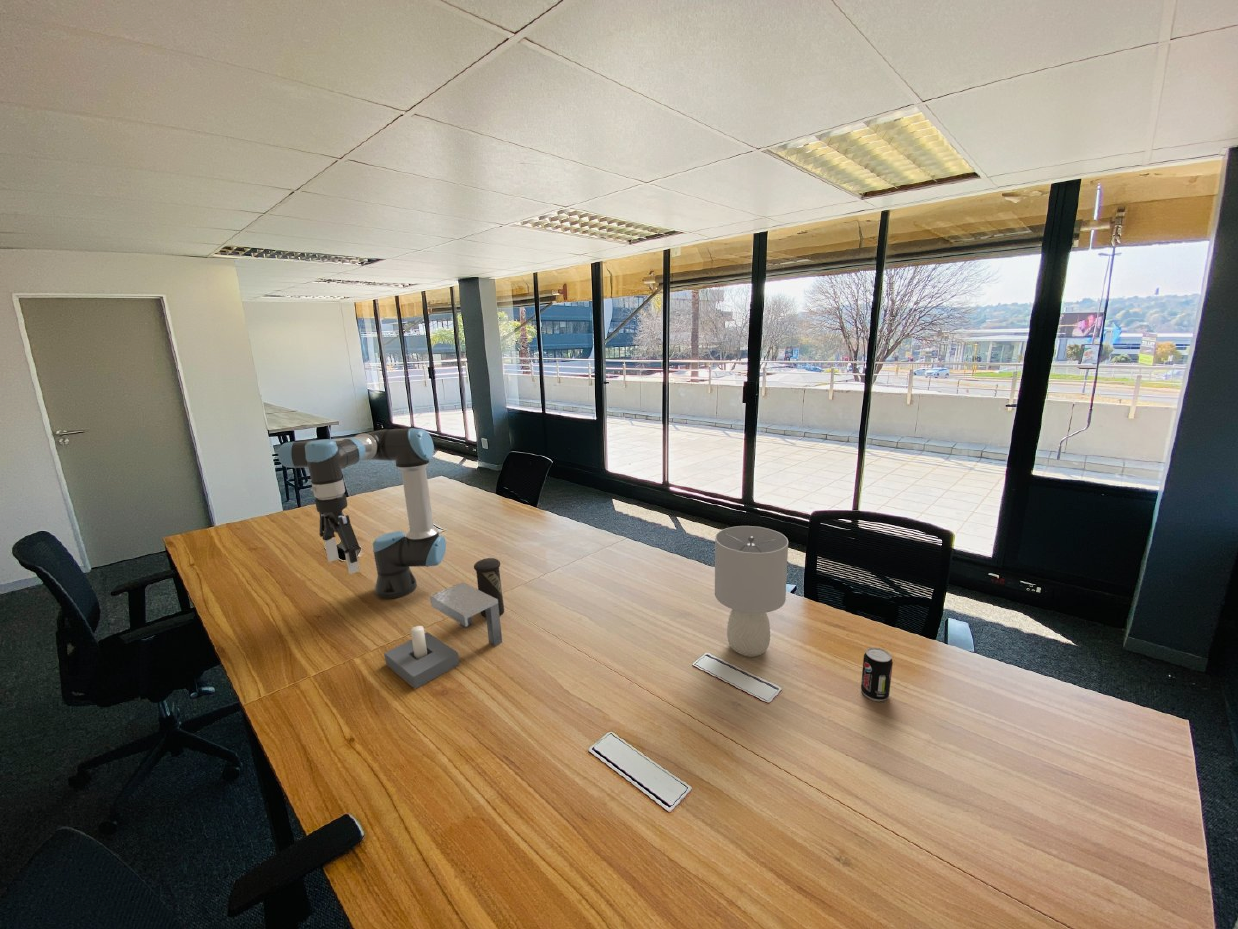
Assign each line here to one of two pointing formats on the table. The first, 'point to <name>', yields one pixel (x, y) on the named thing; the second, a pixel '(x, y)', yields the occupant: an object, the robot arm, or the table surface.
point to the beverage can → (876, 674)
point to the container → (490, 580)
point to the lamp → (750, 583)
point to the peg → (418, 642)
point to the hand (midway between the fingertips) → (343, 566)
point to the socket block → (421, 661)
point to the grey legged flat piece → (469, 608)
